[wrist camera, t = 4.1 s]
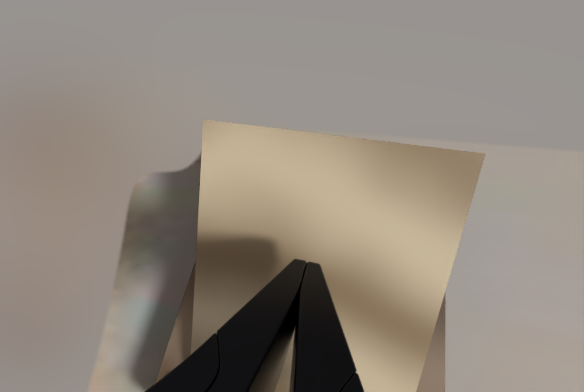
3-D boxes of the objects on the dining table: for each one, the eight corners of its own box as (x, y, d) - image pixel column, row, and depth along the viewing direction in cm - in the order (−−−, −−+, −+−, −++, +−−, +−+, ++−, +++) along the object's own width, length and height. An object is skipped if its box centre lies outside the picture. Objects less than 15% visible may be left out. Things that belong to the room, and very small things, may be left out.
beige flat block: (405, 502, 14) (457, 636, 9) (176, 420, 16) (110, 485, 11) (418, 193, 20) (453, 163, 15) (250, 168, 22) (230, 134, 17)
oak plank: (391, 425, 11) (397, 456, 10) (202, 366, 13) (188, 387, 12) (466, 153, 9) (486, 153, 8) (218, 123, 10) (202, 119, 9)
